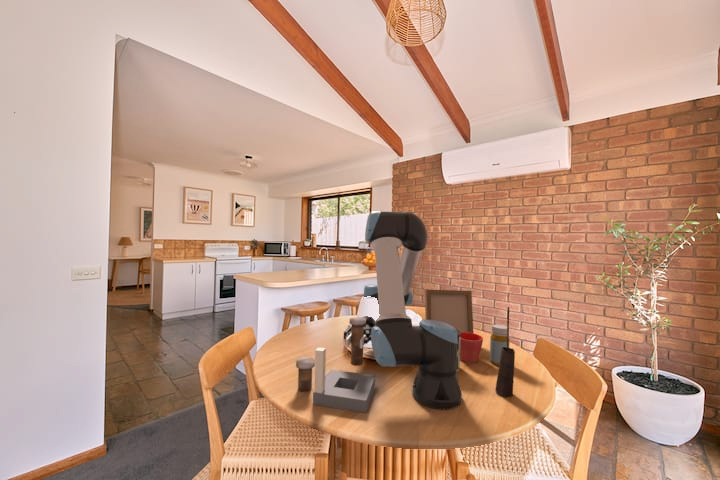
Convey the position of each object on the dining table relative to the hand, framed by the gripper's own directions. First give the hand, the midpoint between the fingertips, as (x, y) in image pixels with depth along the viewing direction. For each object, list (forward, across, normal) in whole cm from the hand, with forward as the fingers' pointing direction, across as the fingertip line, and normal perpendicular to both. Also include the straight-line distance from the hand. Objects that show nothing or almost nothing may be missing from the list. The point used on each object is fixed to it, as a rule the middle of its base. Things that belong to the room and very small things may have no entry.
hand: (353, 343), depth 102 cm
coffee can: (-22, -32, -13) cm, 41 cm away
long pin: (-5, 0, -9) cm, 10 cm away
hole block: (+9, 0, -13) cm, 16 cm away
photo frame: (-54, -34, -13) cm, 66 cm away
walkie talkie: (-5, -50, -13) cm, 52 cm away
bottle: (-31, -54, -13) cm, 63 cm away
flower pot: (-32, -42, -13) cm, 54 cm away
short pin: (+9, +14, -13) cm, 21 cm away
